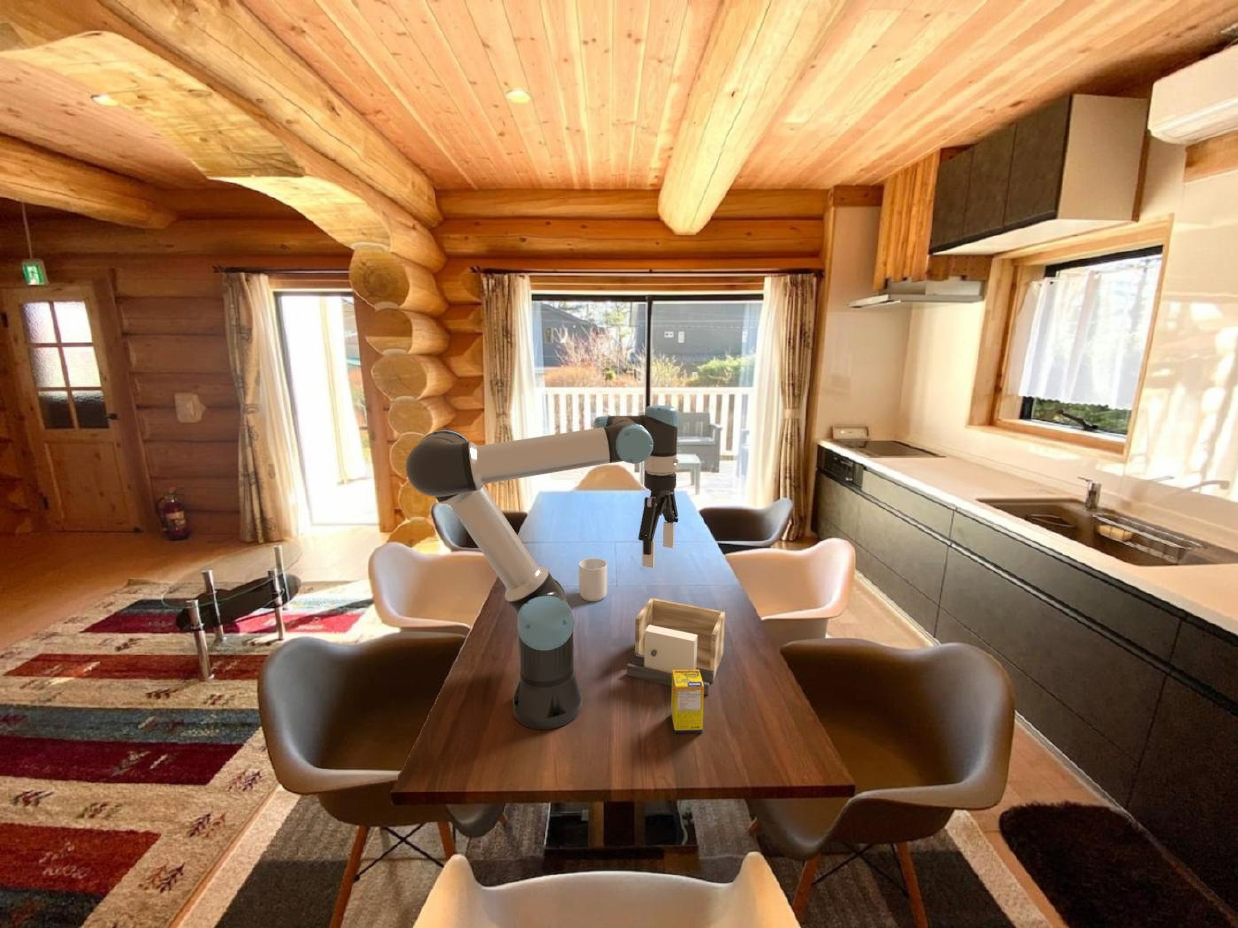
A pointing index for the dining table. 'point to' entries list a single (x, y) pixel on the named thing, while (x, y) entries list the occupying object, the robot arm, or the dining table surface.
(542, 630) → the robot arm
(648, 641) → the door
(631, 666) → the carcass
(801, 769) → the dining table surface
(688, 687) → the supplement box
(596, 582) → the mug
